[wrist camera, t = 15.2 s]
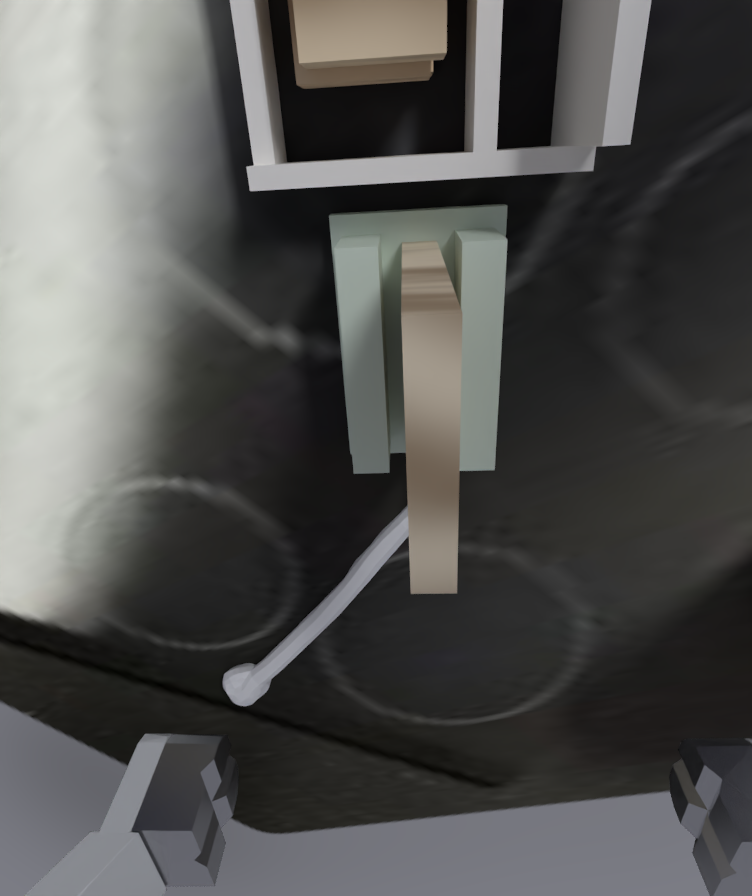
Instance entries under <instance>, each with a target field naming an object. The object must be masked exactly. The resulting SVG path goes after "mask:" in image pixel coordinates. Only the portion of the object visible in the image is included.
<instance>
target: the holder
mask: <svg viewBox="0 0 752 896" xmlns="http://www.w3.org/2000/svg"><path fill="white" fill-rule="evenodd" d="M329 223H330V234H331V245H332V256H333V267H334V278H335V289H336V300H337V311H338V322H339V333H340V345H341V356H342V367H343V378H344V389H345V400H346V411H347V422H348V433H349V444H350V454H352V460H353V471H354V474H364V473H389V472H390V453H406V440H405V411H404V382H403V353H402V324H401V283H402V242H418V241H437V243H438V246H439V248H440V251H441V254H442V257H443V260H444V263H445V265H446V268H447V271H448V274H449V277H450V279H451V282H452V285H453V288H454V291H455V293H456V296H457V299H458V302H459V305H460V308H461V310H462V313H463V315H462V365H461V415H460V466H459V471H480V470H495V456H496V438H497V420H498V402H499V384H500V366H501V348H502V330H503V313H504V295H505V277H506V259H507V241H508V240H507V239H506V225H507V205H506V204H492V205H474V206H456V207H439V208H421V209H403V210H386V211H368V212H350V213H333V214H330V215H329Z"/></svg>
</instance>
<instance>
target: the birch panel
mask: <svg viewBox="0 0 752 896" xmlns="http://www.w3.org/2000/svg"><path fill="white" fill-rule="evenodd" d="M462 315H463V313H462V310H461V308H460V305H459V302H458V299H457V296H456V293H455V291H454V288H453V285H452V282H451V279H450V277H449V274H448V271H447V268H446V265H445V263H444V260H443V257H442V254H441V251H440V248H439V246H438V243H437V241H418V242H402V283H401V324H402V353H403V382H404V411H405V440H406V470H407V499H408V528H409V557H410V586H411V594H441V593H457V567H458V516H459V466H460V415H461V365H462Z"/></svg>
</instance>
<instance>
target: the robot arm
mask: <svg viewBox="0 0 752 896" xmlns="http://www.w3.org/2000/svg"><path fill="white" fill-rule="evenodd" d="M230 749H231V743H230V740H229V738H228V735H190V734H145V735H144V736H143V737H142V739H141V740H140V741H139V743H138V744H137V746H136V748H135V751H134V753H133V755H132V757H131V760H130V762H129V764H128V766H127V769H126V771H125V773H124V776H123V778H122V780H121V783H120V785H119V787H118V789H117V791H116V794H115V796H114V798H113V801H112V803H111V805H110V807H109V810H108V812H107V814H106V816H105V819H104V821H103V823H102V826H101V828H100V830H99V831H91V832H90V833H89V834H88V835H87V836H85V838H83V839H82V840H81V841H80V842H79V843H78V844H77V845H76V846H75V847H74V848H73V849H72V850H71V851H70V852H69V853H68V854H67V855H66V856H65V857H64V858H63V859H62V860H61V861H60V862H59V863H58V864H57V865H55V866H54V868H52V869H51V870H50V871H49V872H48V873H47V874H46V875H45V876H44V877H43V878H42V879H41V880H40V881H39V882H38V883H37V884H36V885H35V886H34V887H33V888H32V889H31V890H30V891H29V892H28V893H27V894H26V895H24V896H163V894H164V893H165V892H166V890H167V888H166V886H215V883H216V879H217V875H218V871H219V867H220V863H221V859H222V855H223V852H224V848H225V844H226V842H225V839H224V836H223V834H222V831H221V828H222V827H223V826H224V824H225V823H226V822H227V821H228V820H229V819H230V818H231V817H232V816H233V812H234V807H235V803H236V799H237V791H238V782H239V776H238V766H237V763H236V760H235V759H234V758H232V757H231V756H230V755H229V752H230ZM678 751H679V753H680V755H681V758H682V759H681V760H680V761H678V762H677V763H675V764H673V765H672V769H671V772H670V776H669V781H670V793H671V797H672V801H673V804H674V808H675V811H676V813H677V816H678V818H679V821H680V823H681V824H682V825H683V826H684V827H685V828H686V829H687V830H688V831H689V832H690V833H691V834H692V835H693V836H694V837H695V838H696V840H695V844H694V848H693V856H694V858H695V860H696V863H697V865H698V868H699V870H700V873H701V875H702V878H703V880H704V882H705V885H706V887H707V890H708V892H709V895H710V896H752V738H688V739H685V740H683V741H681V744H680V746H679V749H678Z"/></svg>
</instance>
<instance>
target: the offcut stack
mask: <svg viewBox="0 0 752 896" xmlns="http://www.w3.org/2000/svg"><path fill="white" fill-rule="evenodd" d="M288 9H289V18H290V28H291V37H292V47H293V56H294V66H295V76H296V85H298V86H299V87H301V88H303V89H312V88H326V87H340V86H355V85H369V84H383V83H397V82H411V81H426V80H429V79H430V76H432V74H433V60H443V59H444V57H445V55H446V53H447V0H288Z"/></svg>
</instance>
